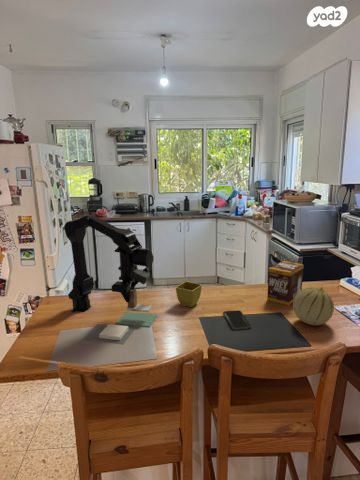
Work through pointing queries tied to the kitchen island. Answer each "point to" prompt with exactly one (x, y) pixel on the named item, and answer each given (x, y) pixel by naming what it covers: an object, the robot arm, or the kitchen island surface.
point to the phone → (236, 320)
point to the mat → (94, 336)
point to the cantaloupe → (313, 305)
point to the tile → (113, 332)
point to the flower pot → (188, 293)
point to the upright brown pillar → (133, 303)
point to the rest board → (137, 319)
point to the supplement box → (284, 282)
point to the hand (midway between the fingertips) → (129, 300)
